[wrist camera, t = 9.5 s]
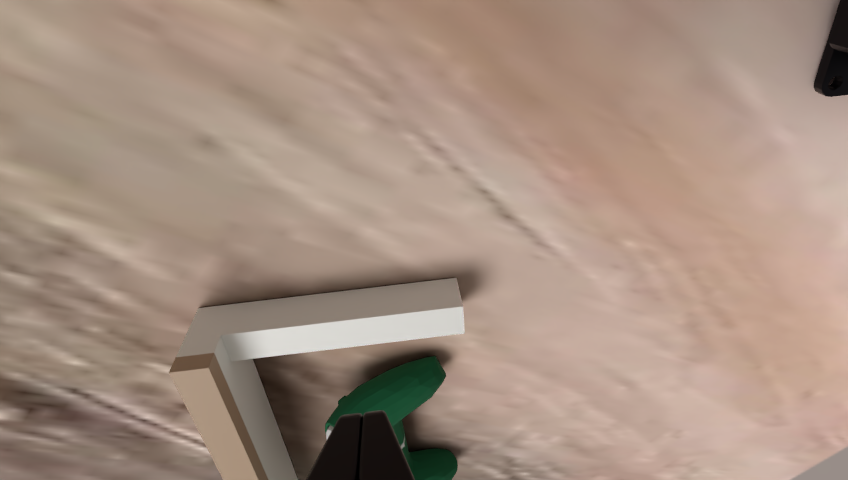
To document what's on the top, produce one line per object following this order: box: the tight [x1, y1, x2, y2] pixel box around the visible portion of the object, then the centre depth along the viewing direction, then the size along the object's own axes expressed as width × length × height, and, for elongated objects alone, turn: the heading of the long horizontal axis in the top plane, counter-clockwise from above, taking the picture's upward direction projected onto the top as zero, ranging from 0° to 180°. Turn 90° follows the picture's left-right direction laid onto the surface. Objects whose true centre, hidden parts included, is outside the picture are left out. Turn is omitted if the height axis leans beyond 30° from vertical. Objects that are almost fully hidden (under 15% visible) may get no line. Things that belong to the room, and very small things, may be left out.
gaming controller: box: [325, 356, 458, 480], centre depth 26 cm, size 9×4×6 cm
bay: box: [169, 278, 465, 480], centre depth 26 cm, size 12×18×4 cm, turn 5°
